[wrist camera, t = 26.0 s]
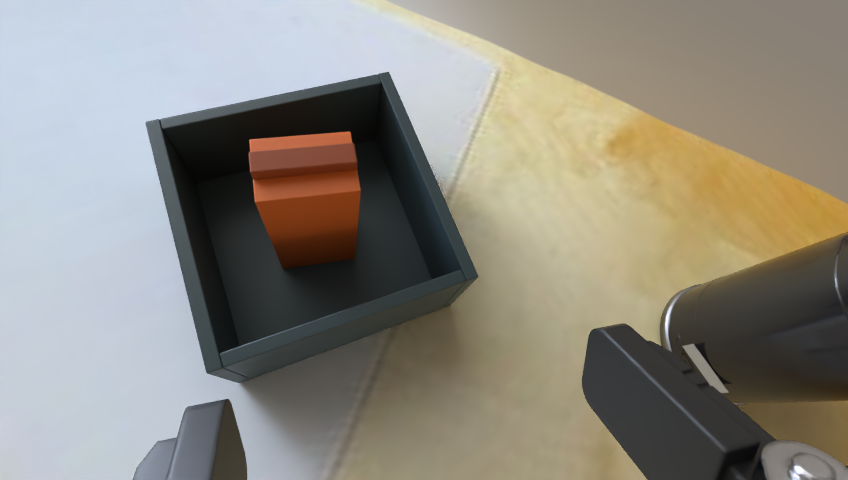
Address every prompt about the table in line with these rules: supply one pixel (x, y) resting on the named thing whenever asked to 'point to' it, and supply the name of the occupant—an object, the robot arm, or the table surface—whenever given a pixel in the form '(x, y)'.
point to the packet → (307, 196)
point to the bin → (253, 250)
